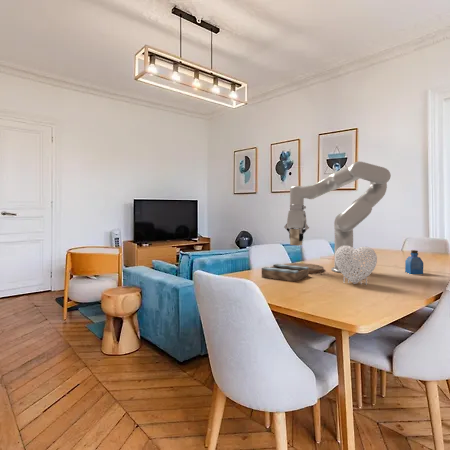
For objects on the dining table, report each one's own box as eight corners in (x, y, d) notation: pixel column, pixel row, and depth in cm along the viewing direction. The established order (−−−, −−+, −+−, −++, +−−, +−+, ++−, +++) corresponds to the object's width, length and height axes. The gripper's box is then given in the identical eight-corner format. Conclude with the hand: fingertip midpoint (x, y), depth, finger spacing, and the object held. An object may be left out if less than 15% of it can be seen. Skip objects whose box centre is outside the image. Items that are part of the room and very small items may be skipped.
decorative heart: (331, 283, 152) (332, 246, 151) (337, 279, 161) (338, 244, 160) (374, 288, 142) (375, 248, 141) (378, 283, 151) (378, 246, 150)
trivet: (291, 264, 205) (291, 261, 205) (330, 269, 189) (330, 266, 189) (269, 270, 186) (269, 267, 186) (311, 276, 170) (311, 272, 170)
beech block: (302, 244, 188) (302, 228, 187) (298, 245, 184) (298, 229, 183) (294, 244, 191) (294, 228, 190) (290, 245, 187) (290, 229, 186)
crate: (308, 276, 169) (308, 267, 169) (294, 281, 156) (294, 271, 156) (276, 272, 180) (276, 263, 179) (261, 277, 167) (261, 268, 167)
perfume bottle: (417, 272, 177) (417, 249, 176) (423, 274, 170) (423, 251, 170) (405, 272, 177) (405, 249, 177) (410, 274, 171) (410, 251, 170)
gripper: (313, 208, 184) (313, 241, 185) (285, 208, 194) (285, 239, 195) (308, 208, 178) (307, 242, 179) (279, 208, 188) (279, 240, 189)
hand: (296, 240), depth 187 cm, fingers closed on beech block, 5 cm apart
